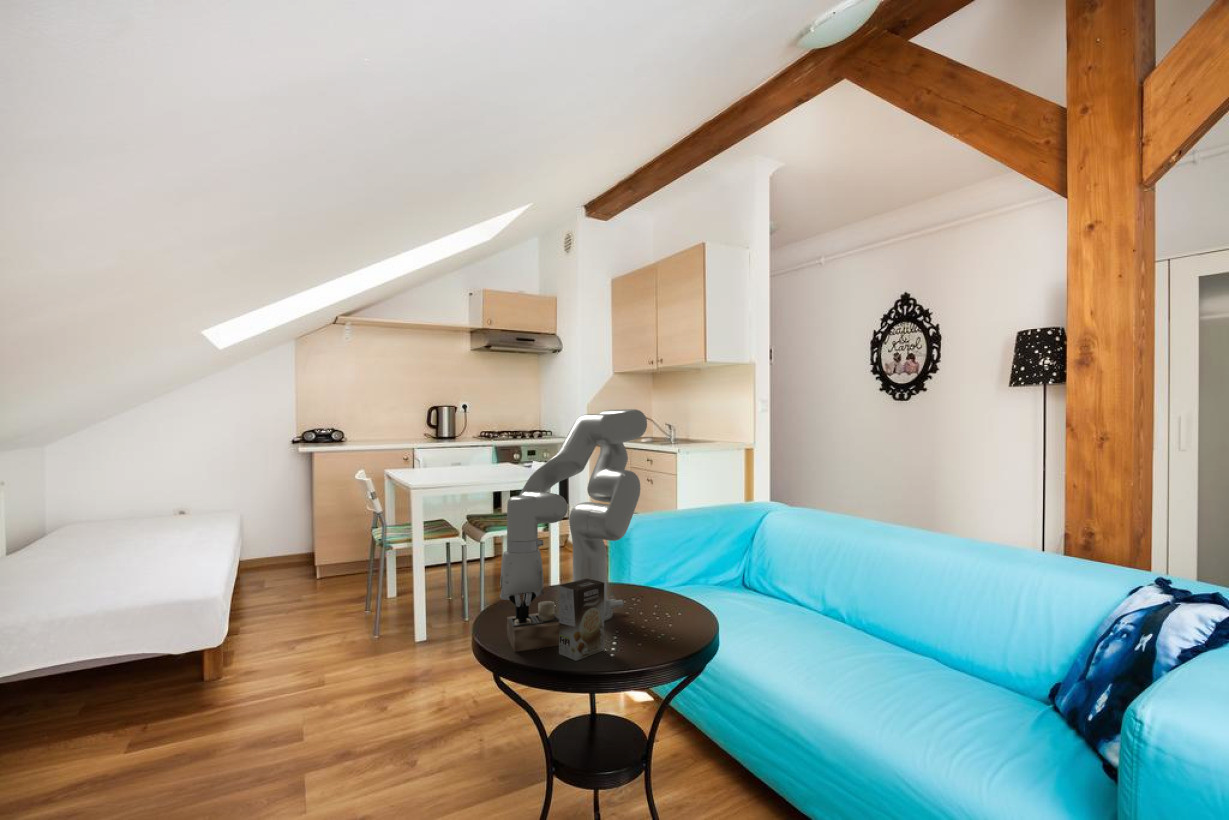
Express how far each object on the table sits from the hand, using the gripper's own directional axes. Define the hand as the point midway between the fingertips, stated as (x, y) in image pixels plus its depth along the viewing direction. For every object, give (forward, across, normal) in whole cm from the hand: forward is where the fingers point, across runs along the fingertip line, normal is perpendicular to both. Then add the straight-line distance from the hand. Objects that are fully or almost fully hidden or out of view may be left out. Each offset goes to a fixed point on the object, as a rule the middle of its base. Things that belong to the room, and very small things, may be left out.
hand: (522, 621), depth 140 cm
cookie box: (+6, -12, +11) cm, 17 cm away
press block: (+5, -3, 0) cm, 6 cm away
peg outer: (+4, 0, 0) cm, 5 cm away
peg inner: (+1, -6, 0) cm, 6 cm away
